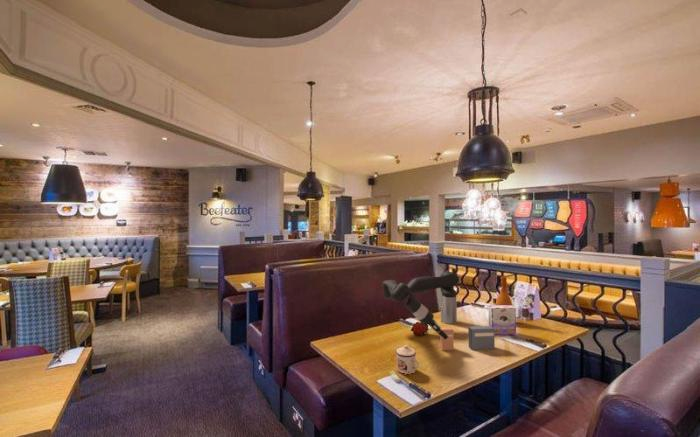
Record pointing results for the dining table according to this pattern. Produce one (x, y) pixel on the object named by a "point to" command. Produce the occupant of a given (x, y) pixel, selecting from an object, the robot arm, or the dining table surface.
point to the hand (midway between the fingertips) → (444, 334)
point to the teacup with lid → (406, 360)
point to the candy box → (503, 319)
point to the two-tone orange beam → (449, 342)
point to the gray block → (481, 337)
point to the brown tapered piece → (503, 294)
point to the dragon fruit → (419, 328)
